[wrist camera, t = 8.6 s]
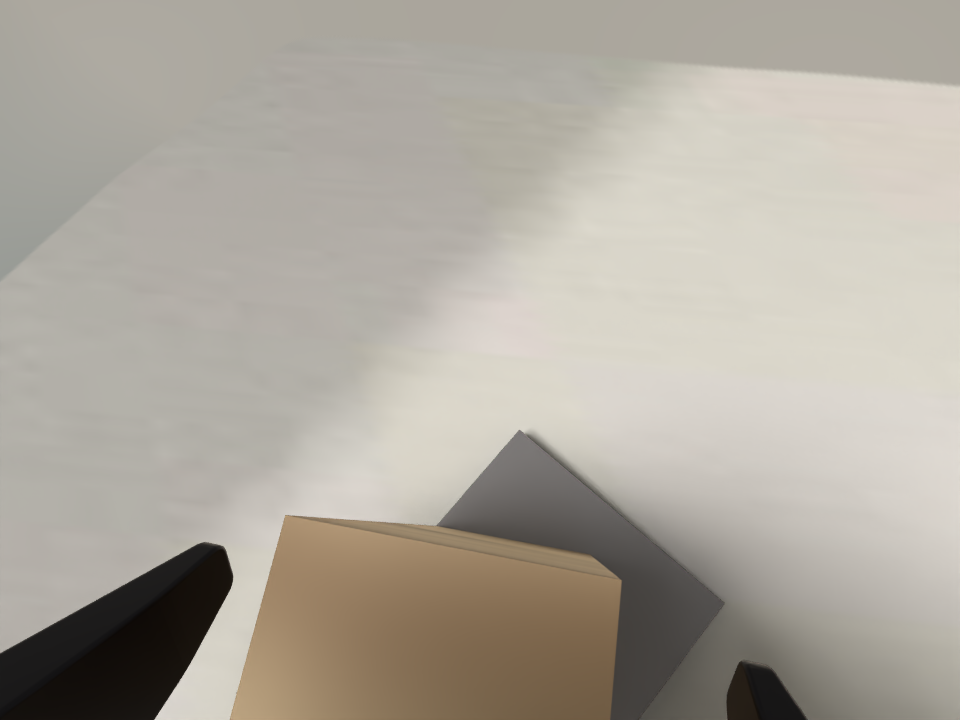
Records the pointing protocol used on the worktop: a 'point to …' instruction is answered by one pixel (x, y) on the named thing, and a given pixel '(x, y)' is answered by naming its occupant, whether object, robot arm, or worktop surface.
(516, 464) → the charcoal mat
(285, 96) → the worktop surface
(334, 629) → the oak block
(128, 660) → the robot arm
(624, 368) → the worktop surface
